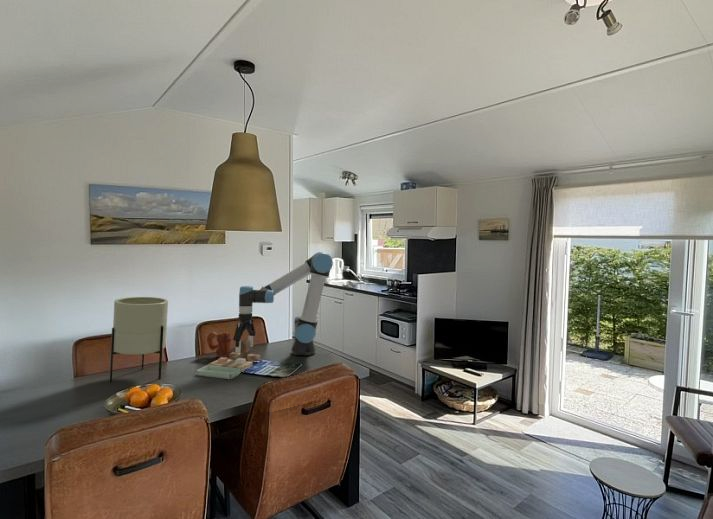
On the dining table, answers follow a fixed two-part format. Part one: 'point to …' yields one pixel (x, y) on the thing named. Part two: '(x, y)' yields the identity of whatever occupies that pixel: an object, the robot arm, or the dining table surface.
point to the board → (233, 364)
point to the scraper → (245, 352)
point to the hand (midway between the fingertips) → (244, 349)
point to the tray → (218, 372)
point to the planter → (139, 327)
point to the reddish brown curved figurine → (220, 343)
